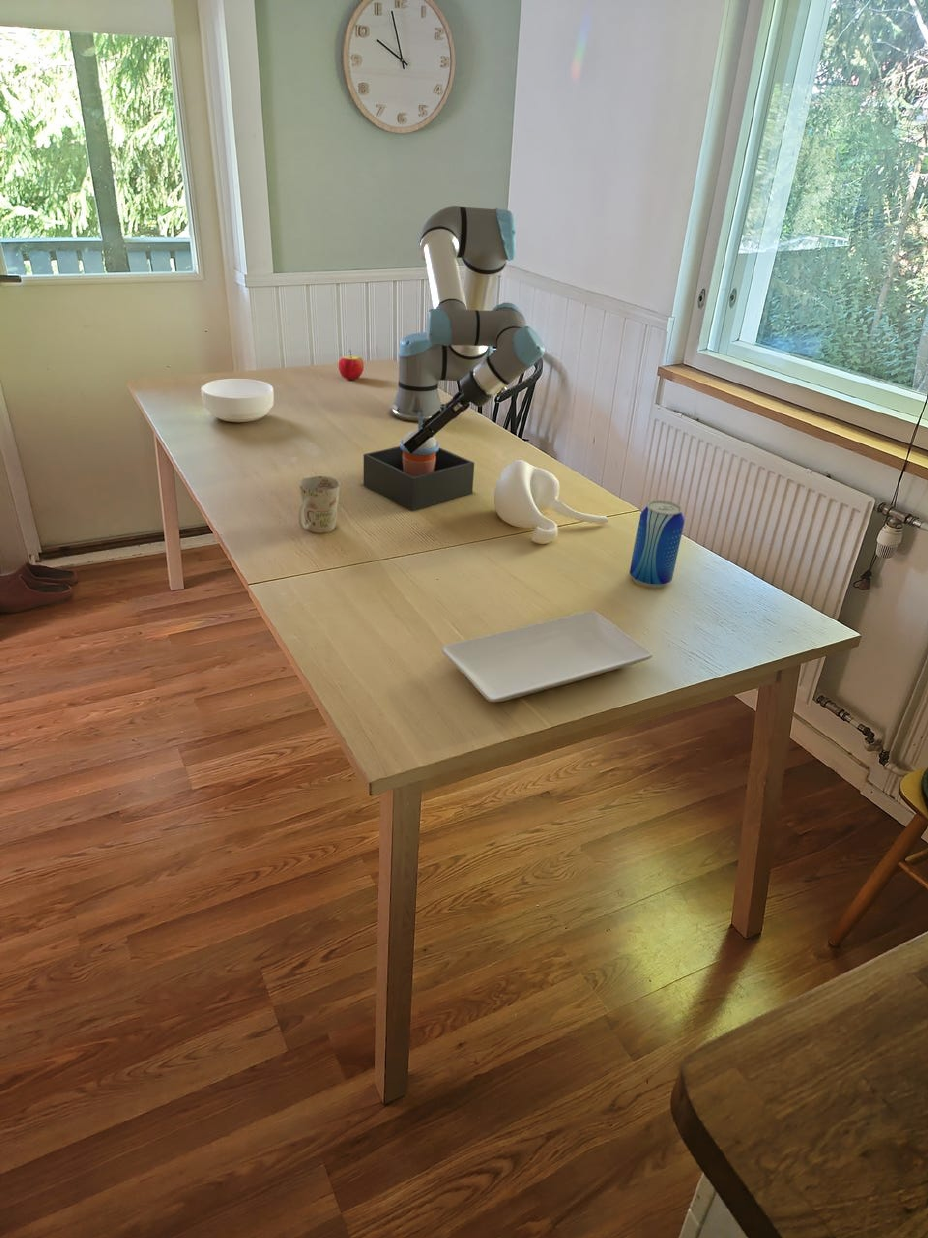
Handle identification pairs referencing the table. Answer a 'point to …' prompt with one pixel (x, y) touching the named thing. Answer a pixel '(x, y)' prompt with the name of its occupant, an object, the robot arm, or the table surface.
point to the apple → (351, 367)
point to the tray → (544, 655)
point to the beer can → (657, 544)
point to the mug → (319, 503)
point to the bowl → (238, 399)
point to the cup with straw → (419, 454)
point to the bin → (418, 478)
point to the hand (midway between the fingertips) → (415, 439)
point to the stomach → (533, 501)
